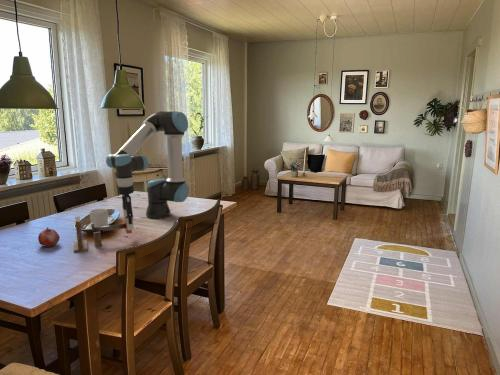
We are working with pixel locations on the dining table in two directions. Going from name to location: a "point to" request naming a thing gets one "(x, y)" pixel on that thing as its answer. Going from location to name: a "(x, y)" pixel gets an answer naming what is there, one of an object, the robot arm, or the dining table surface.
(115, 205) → the dining table surface
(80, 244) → the wooden square frame
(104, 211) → the mug
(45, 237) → the fruit
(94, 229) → the hook rod
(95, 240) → the saddle block
